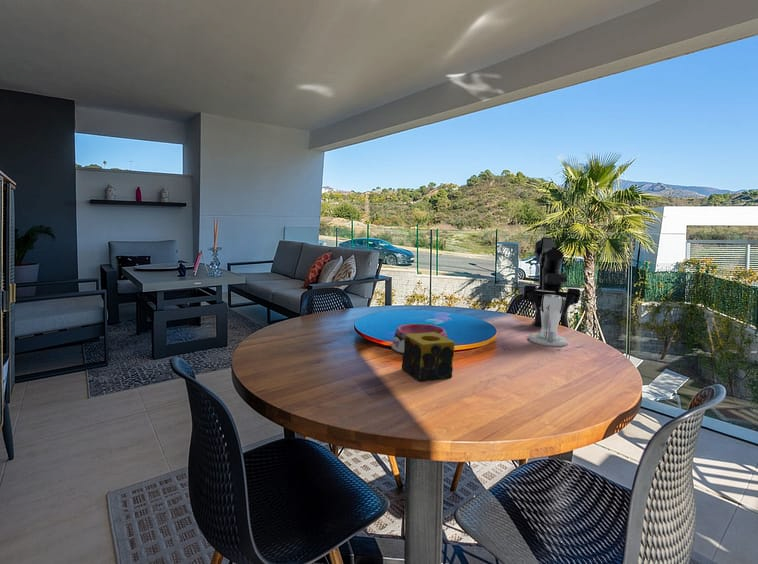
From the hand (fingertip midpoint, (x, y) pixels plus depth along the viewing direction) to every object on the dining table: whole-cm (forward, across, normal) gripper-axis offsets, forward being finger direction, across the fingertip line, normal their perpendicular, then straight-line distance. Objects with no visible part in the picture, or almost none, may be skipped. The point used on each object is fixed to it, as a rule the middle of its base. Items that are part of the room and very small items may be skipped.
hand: (551, 313), depth 145 cm
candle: (+41, -35, -26) cm, 60 cm away
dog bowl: (+26, -41, -11) cm, 50 cm away
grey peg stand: (+6, 0, +8) cm, 10 cm away
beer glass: (+5, 0, +8) cm, 9 cm away
